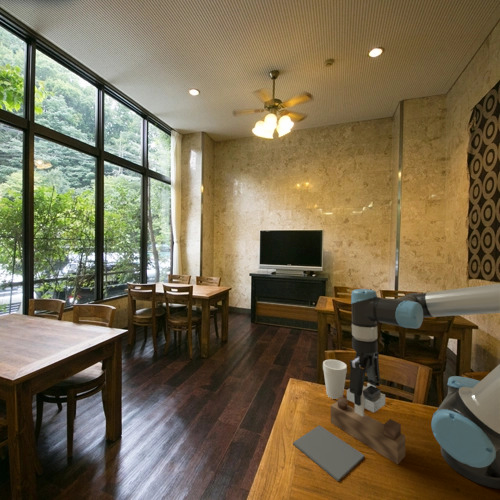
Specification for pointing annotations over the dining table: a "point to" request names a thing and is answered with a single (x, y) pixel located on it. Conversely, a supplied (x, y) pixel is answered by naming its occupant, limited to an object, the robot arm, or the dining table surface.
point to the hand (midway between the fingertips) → (365, 409)
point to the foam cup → (334, 377)
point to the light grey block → (370, 398)
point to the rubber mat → (329, 452)
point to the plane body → (370, 430)
